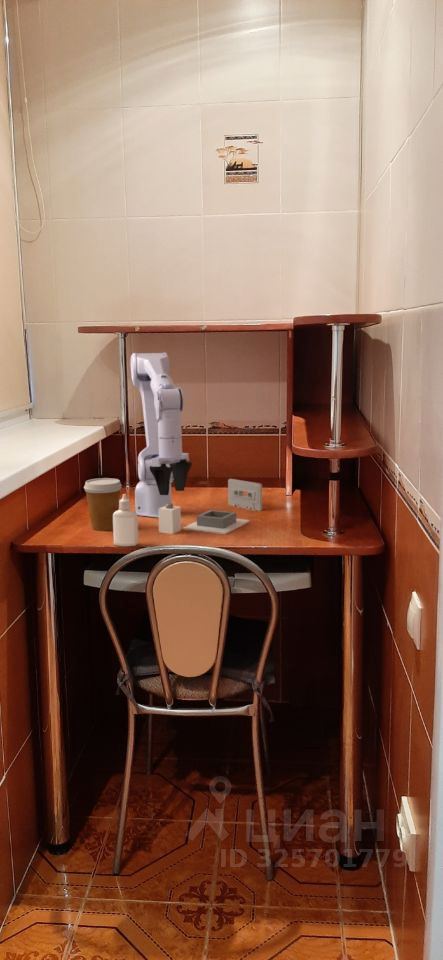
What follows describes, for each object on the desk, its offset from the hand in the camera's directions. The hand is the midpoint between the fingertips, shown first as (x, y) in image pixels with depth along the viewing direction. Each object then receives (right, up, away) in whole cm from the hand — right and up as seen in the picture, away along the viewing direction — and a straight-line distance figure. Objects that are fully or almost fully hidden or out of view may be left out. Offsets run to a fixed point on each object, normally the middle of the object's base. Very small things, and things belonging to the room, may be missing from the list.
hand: (172, 492), depth 191 cm
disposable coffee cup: (-18, -9, +6) cm, 21 cm away
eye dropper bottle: (-10, -12, -10) cm, 19 cm away
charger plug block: (-1, -10, +2) cm, 10 cm away
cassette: (+19, -5, +26) cm, 33 cm away
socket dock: (+11, -8, +7) cm, 16 cm away
